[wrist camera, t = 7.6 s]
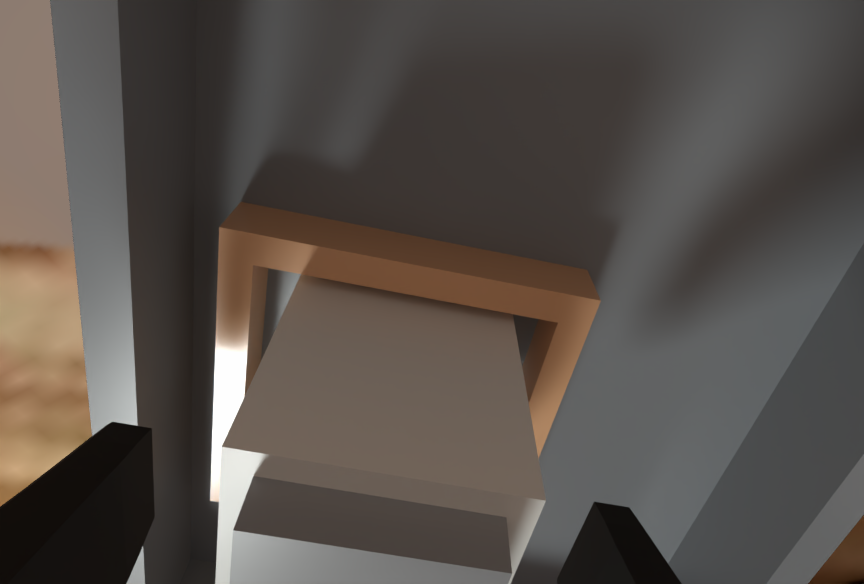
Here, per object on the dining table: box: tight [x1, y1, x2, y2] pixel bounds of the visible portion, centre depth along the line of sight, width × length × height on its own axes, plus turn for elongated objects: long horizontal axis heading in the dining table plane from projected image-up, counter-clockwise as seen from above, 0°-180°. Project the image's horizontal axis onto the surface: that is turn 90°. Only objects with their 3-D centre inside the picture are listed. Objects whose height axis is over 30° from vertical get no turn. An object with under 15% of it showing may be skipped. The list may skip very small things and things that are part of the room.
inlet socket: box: [210, 202, 601, 502], centre depth 13 cm, size 7×7×1 cm
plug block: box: [215, 274, 546, 584], centre depth 10 cm, size 4×4×6 cm
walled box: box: [50, 0, 864, 584], centre depth 12 cm, size 14×18×3 cm
